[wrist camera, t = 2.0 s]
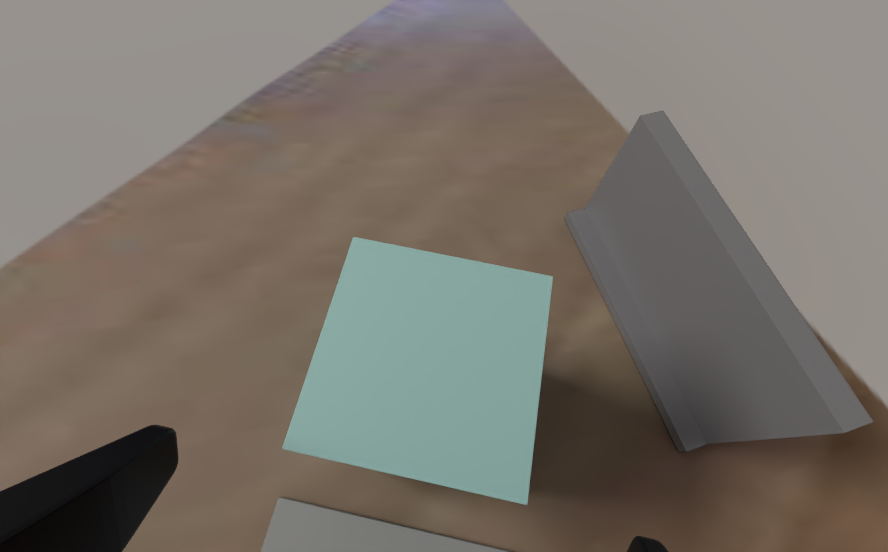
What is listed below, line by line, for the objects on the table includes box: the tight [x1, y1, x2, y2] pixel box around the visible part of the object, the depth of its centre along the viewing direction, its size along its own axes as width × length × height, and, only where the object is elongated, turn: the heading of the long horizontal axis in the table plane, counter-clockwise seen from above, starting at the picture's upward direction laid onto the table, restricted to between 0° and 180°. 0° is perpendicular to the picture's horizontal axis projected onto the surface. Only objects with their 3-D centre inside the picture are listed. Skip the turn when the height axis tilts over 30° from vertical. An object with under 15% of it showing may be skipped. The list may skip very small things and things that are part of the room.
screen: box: [564, 111, 873, 452], centre depth 17 cm, size 12×3×7 cm, turn 17°
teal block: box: [282, 237, 553, 505], centre depth 15 cm, size 6×6×9 cm
